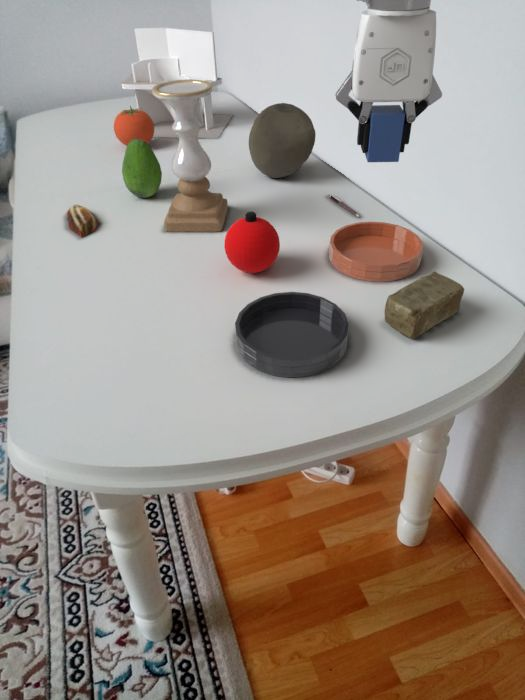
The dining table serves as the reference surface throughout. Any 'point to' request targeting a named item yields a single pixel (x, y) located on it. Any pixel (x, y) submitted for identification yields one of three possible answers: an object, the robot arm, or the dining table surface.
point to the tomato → (133, 126)
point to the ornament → (252, 244)
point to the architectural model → (174, 75)
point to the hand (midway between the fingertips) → (381, 148)
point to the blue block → (385, 133)
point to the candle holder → (191, 162)
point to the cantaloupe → (281, 140)
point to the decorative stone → (81, 220)
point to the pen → (343, 205)
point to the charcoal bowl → (291, 334)
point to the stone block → (423, 304)
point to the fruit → (141, 169)
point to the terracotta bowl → (375, 251)
